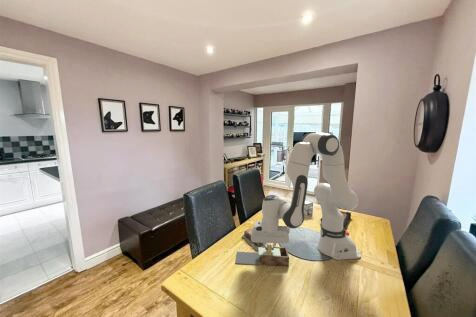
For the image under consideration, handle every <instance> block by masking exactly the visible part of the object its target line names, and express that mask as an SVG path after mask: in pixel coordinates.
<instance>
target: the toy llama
mask: <svg viewBox="0 0 476 317" xmlns="http://www.w3.org/2000/svg"><path fill="white" fill-rule="evenodd" d="M313 211H314V203H313V202H312V201H309V200H307V199H305V204H304V217H307V216H309V215H310V216H312V215H313V213H314V212H313Z"/></svg>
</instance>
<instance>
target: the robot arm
mask: <svg viewBox="0 0 476 317" xmlns="http://www.w3.org/2000/svg"><path fill="white" fill-rule="evenodd" d="M315 154H317V155H319V154H320V155H321V170H322V177H323V179H324V180H325V181H326V182H319V183H317V184H316V185H315V187H314V189H313V194H314V196H315V198H316V199H317V201H318V203H319V206H320V208H321V215H322V217H321V218H322V225H320V238H319V241H318V244H317V249H318V251H319V252H321V253H322V254H323V255H326V256H327V257H330V258H332V259H333V260H336V261H342V260H354V259H355V260H356V259H361V256H362V254H361V252H360V250H359V249H358V247H357V245H356V243H355V242H354V240H353V239H352V238H351V237H349V236H350V235H351V233H350V232H349V231H348V230H347V229H346V230H345V229H344V228H343V221H344V217H343V214H342V213H341V212H340V211H341V210H340V209H342V210H345V211H346V210H347V211H353V210H354V209H356V208H357V206H358V205H359V196H358V195H357V193H356V192H354V190H353V189H352V188H351V186H350V184H349V182H348V180H347V177H346V172H345V170H346V169H345V156H344V151H343V147H342V145H341V144H340V141H339V139H338V137H337V136H336V135H334V134H332V133H328V132H327V133H325V132H309V133H306V134H304V135H303V136H302V137H301V140H300V141H299V142H296V143H295V144H294V146H293V147H292V149H291V152H290V154H289V156H288V157H289V158H288V161H287V165H286V174H287V177H288V178H289V180H290V182H291V185H292V194H291V195H292V196H291V201H289V200H288V199H283V198H280V197H279V196H278V195H275V194H270V195H266V196H265V197H264V198H263V199H262V206H261V213H262V217H261V219H260V220H256V221H254V222H253V227H252V228H251V229H252V232H251V241H252V242H260V243H263V245H264V247H265V250H268V246H267V245H266V243H271V244H272V245H271V246H272V250H274V247H277V244H281V245H282V244H284V245H288V244H289V243H290V237H289V234H290V229H297V228H300V227H301V226H302V225H303V223H304V222H305V216H304V204H305V200H307V198H306V197H307V193H308V185H309V182H308V179H309V178H308V177H309V171H310V167H311V163H312V159H313V157H314V156H315ZM279 220H282V222H283V223H284V224H285V225H279Z"/></svg>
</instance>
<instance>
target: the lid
mask: <svg viewBox="0 0 476 317" xmlns="http://www.w3.org/2000/svg"><path fill="white" fill-rule="evenodd" d="M267 246H268V250H265V248H263V247H259V248H258V249H259V250H258V253H259V256H260V257H261V256H262V255H270V256H281V254H280V249H279V248H274V250H272V246H273V245H272V243H267Z"/></svg>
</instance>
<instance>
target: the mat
mask: <svg viewBox="0 0 476 317" xmlns="http://www.w3.org/2000/svg"><path fill="white" fill-rule="evenodd" d="M260 257H261V256H259V252H251V251H250V252H249V251H236V257H235V264H236V265H250V266H251V265H252V266H253V265H254V266H261V258H260Z"/></svg>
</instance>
